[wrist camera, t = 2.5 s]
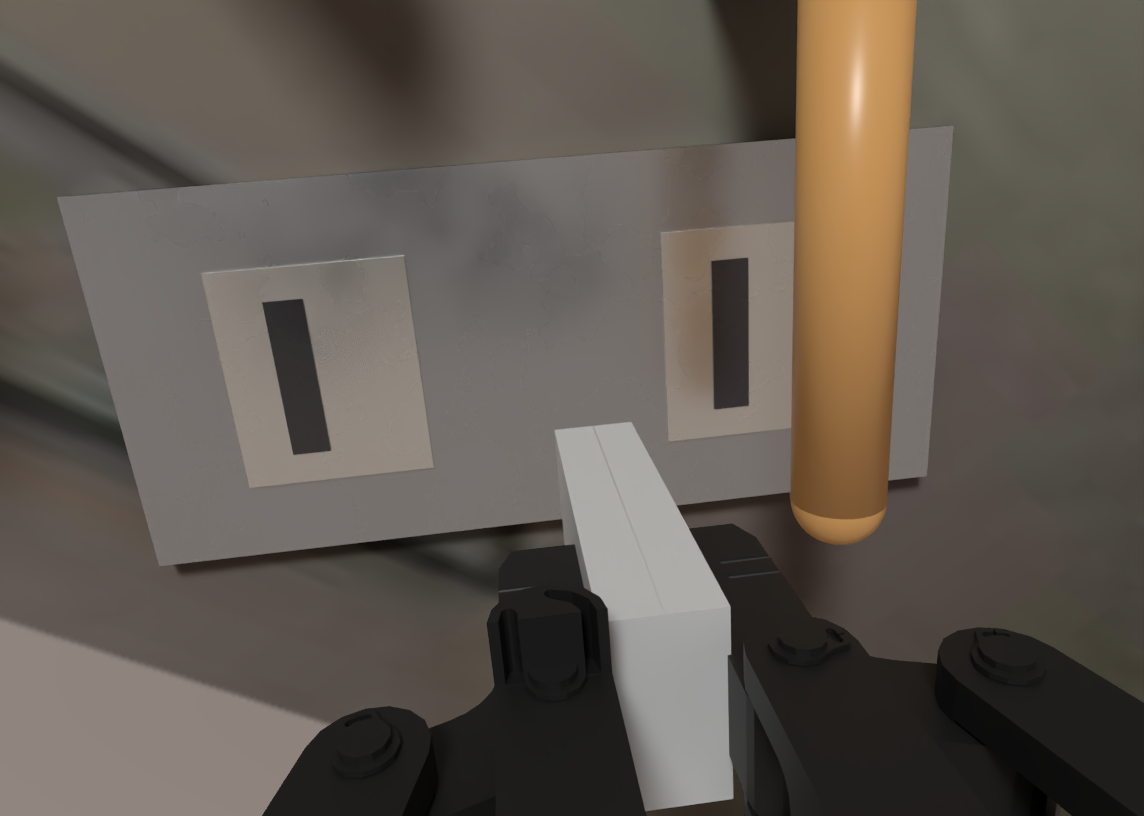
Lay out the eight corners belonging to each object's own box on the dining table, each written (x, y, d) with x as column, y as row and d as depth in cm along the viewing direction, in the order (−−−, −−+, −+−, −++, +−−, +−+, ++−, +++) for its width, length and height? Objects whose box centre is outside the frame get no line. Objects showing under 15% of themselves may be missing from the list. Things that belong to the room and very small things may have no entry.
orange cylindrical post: (747, -246, 16) (812, -346, 13) (909, -251, 17) (1012, -351, 13) (749, 519, 22) (795, 580, 19) (870, 504, 22) (935, 562, 19)
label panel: (71, 195, 23) (53, 197, 22) (939, 126, 25) (957, 125, 24) (168, 554, 26) (157, 568, 26) (915, 467, 29) (929, 477, 28)
